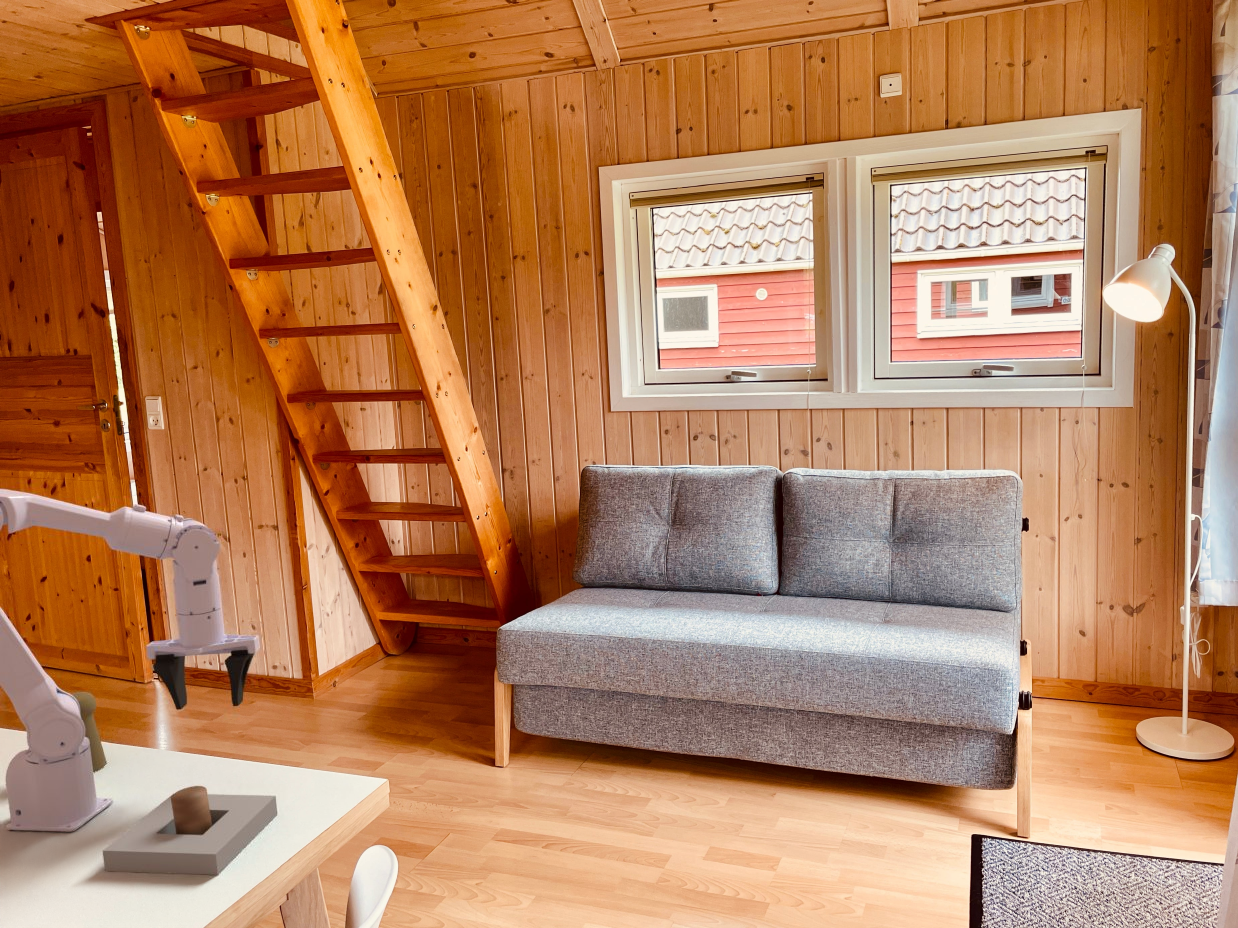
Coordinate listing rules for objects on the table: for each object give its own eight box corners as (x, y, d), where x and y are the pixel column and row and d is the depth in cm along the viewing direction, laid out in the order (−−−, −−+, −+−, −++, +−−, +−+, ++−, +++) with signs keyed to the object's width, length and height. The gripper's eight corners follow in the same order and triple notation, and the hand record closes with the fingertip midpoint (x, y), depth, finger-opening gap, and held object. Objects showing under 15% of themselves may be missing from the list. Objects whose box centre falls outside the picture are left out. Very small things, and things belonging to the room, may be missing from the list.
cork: (86, 778, 139) (77, 703, 137) (49, 776, 140) (39, 702, 138) (116, 759, 144) (107, 687, 143) (80, 758, 146) (71, 686, 144)
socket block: (104, 870, 113) (102, 850, 113) (175, 811, 127) (173, 793, 127) (217, 874, 111) (215, 854, 111) (277, 814, 125) (275, 795, 125)
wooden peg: (171, 849, 118) (164, 803, 117) (187, 832, 122) (180, 786, 121) (204, 848, 117) (197, 801, 116) (219, 830, 121) (212, 785, 120)
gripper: (131, 621, 129) (143, 719, 131) (243, 614, 130) (253, 712, 132) (154, 606, 136) (165, 700, 138) (260, 600, 137) (270, 693, 139)
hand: (209, 705), depth 136 cm, fingers open, 7 cm apart
